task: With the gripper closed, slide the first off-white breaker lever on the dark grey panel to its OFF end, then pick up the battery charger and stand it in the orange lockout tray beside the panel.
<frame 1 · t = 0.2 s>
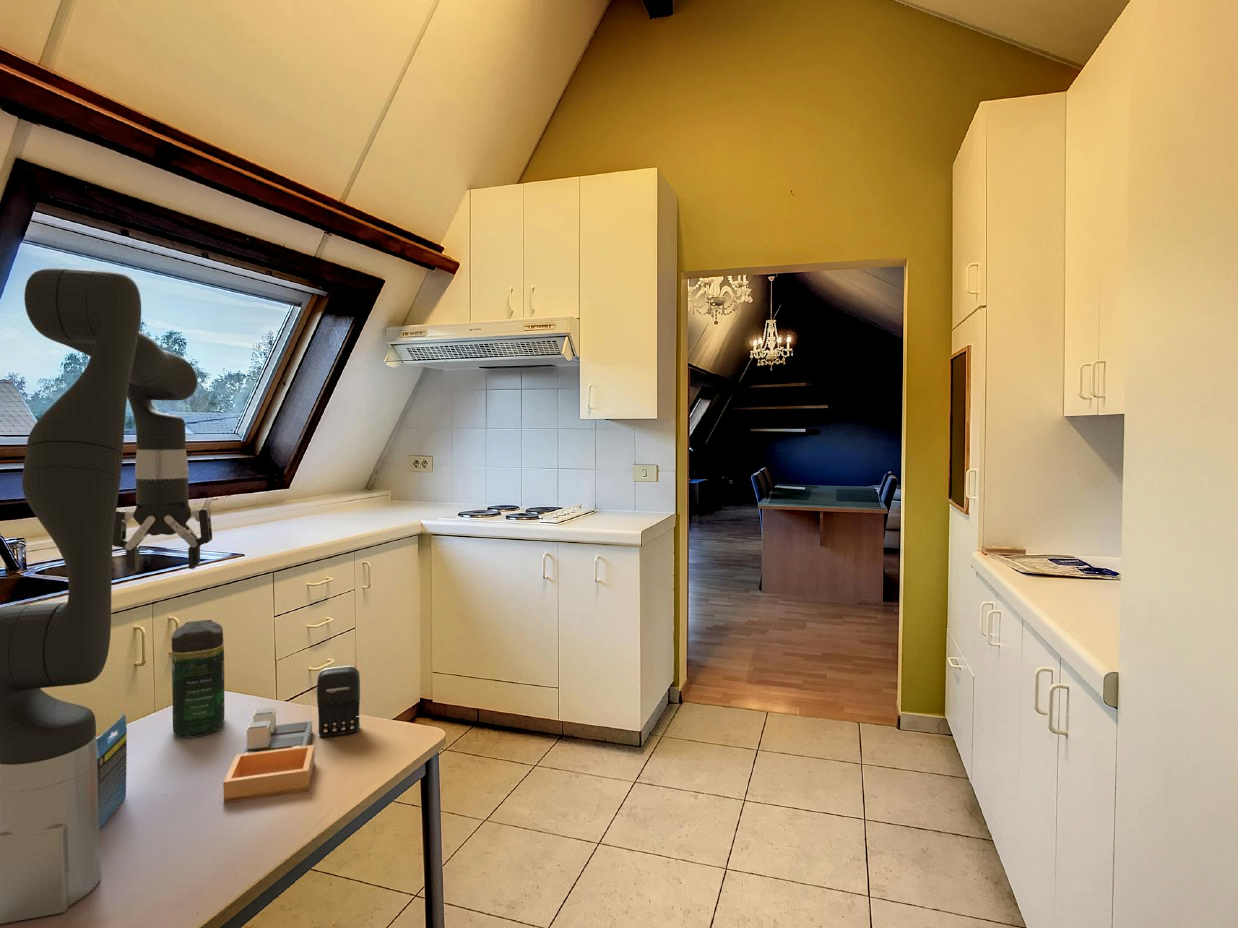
hand: (164, 569, 119), 28 cm above the table, tool pointing down, fingers open, 8 cm apart
label tape box: (99, 816, 94), on the table
breaker 2: (264, 720, 116), point 4 cm above the table, slide at 0.0 cm
coffee jar: (199, 728, 122), on the table
battery charger: (339, 734, 120), on the table
breaker 1: (258, 734, 110), point 4 cm above the table, slide at 0.0 cm
lockout tray: (271, 781, 103), on the table
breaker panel: (278, 750, 113), on the table
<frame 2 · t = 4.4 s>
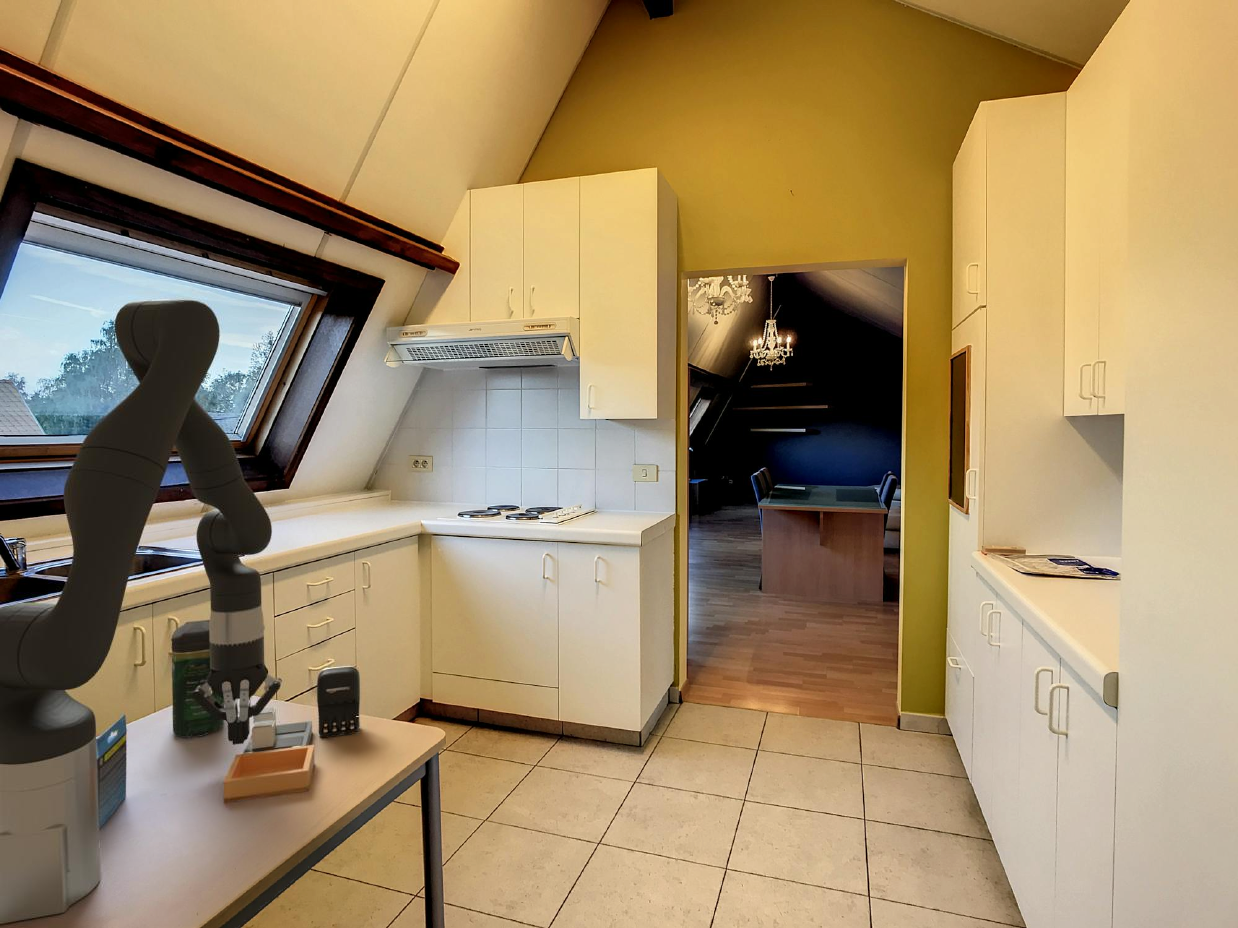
hand: (239, 741, 110), 3 cm above the table, tool pointing down, fingers closed
breaker 1: (263, 733, 111), point 4 cm above the table, slide at 0.7 cm, touching gripper
everything else where it was.
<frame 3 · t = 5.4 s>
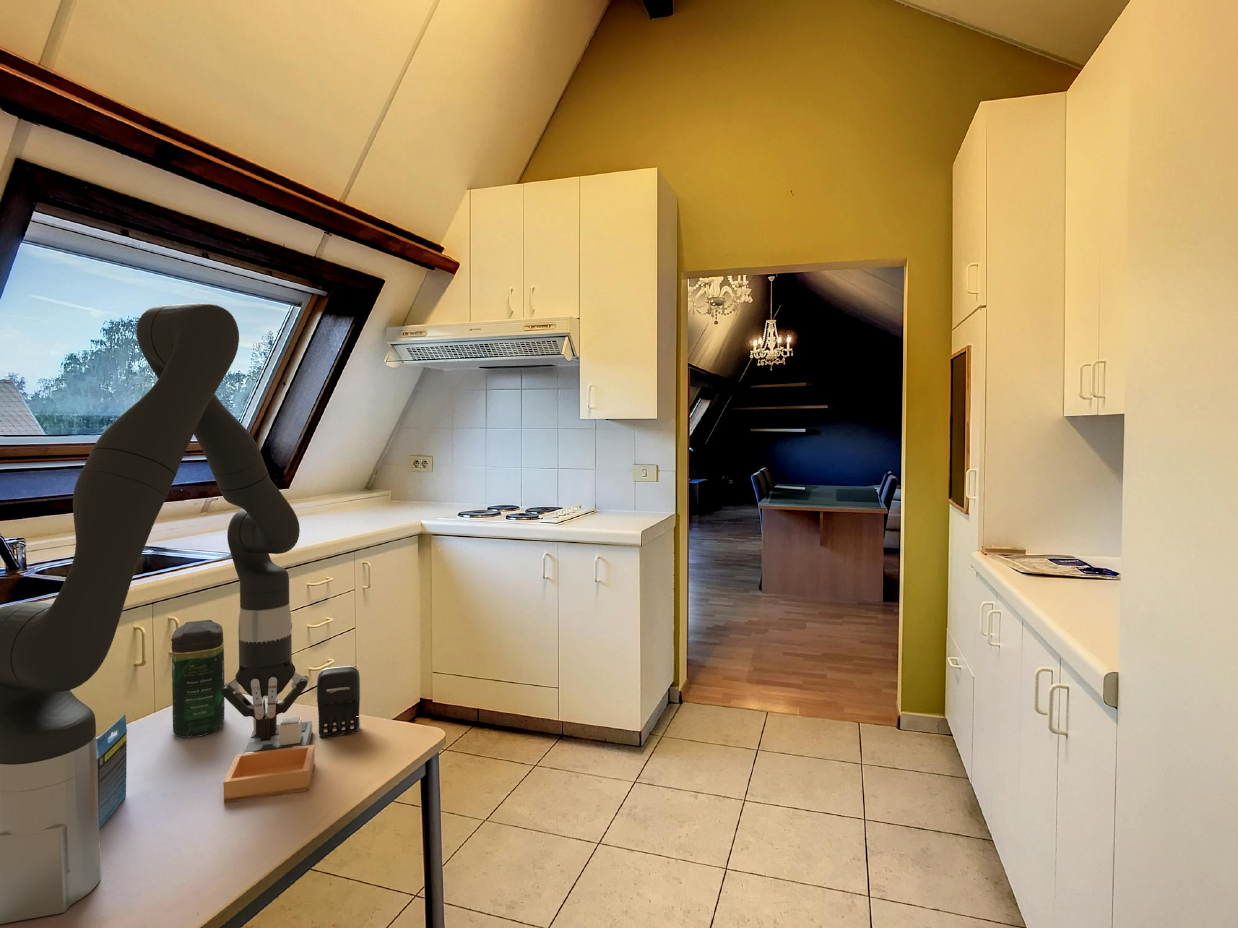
hand: (266, 738, 111), 3 cm above the table, tool pointing down, fingers closed
breaker 1: (290, 730, 112), point 4 cm above the table, slide at 4.6 cm, touching gripper
everything else where it was.
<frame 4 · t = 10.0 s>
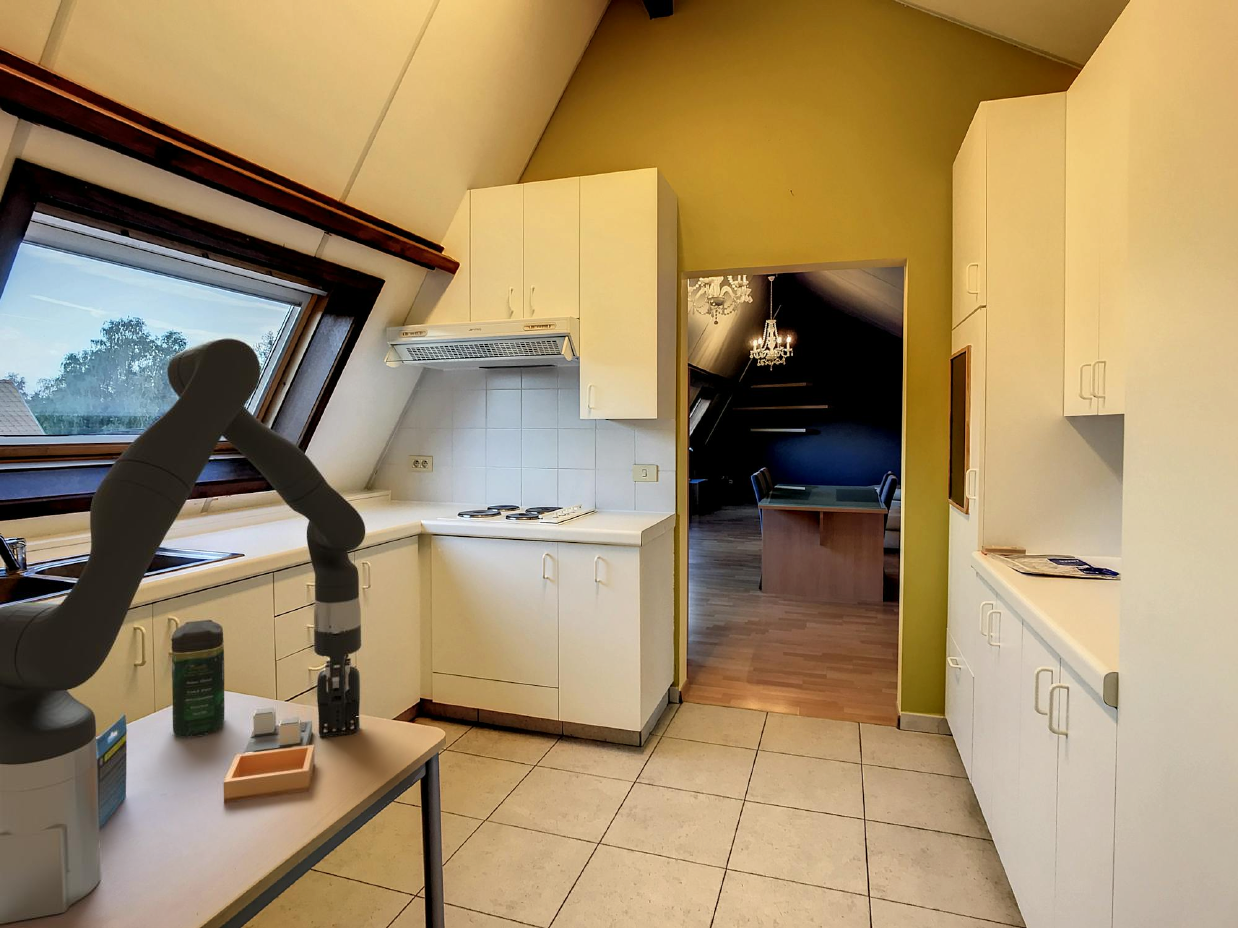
hand: (339, 720, 120), 2 cm above the table, tool pointing down, fingers closed on battery charger, 3 cm apart
battery charger: (339, 734, 120), on the table, touching gripper
breaker 1: (290, 730, 112), point 4 cm above the table, slide at 4.6 cm
everything else where it was.
when the fingers open (4 cm above the table, at t = 15.1 s): battery charger moves 1 cm, resting on lockout tray.
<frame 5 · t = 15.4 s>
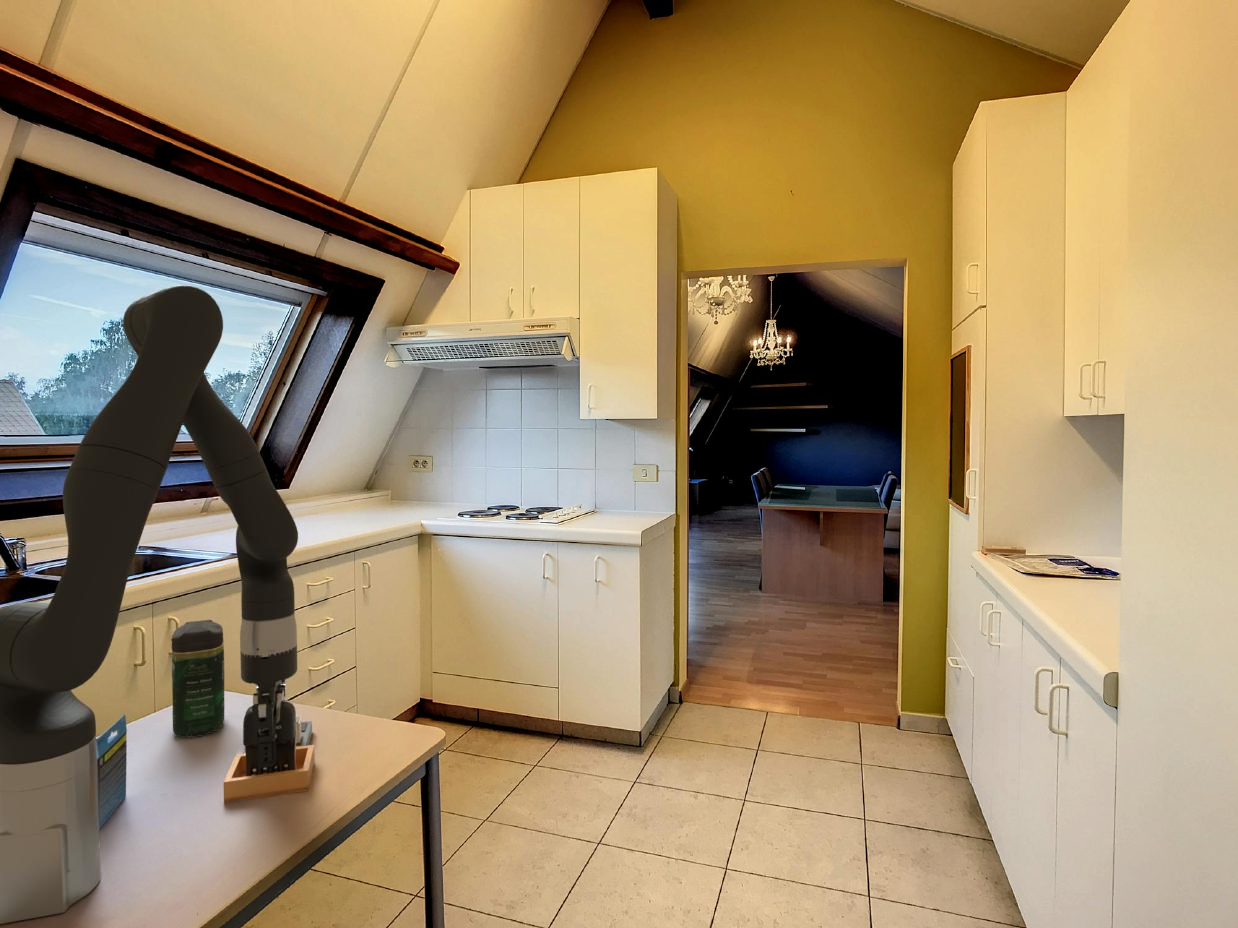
hand: (271, 754, 103), 4 cm above the table, tool pointing down, fingers open, 6 cm apart
battery charger: (270, 781, 103), resting on lockout tray
everything else where it was.
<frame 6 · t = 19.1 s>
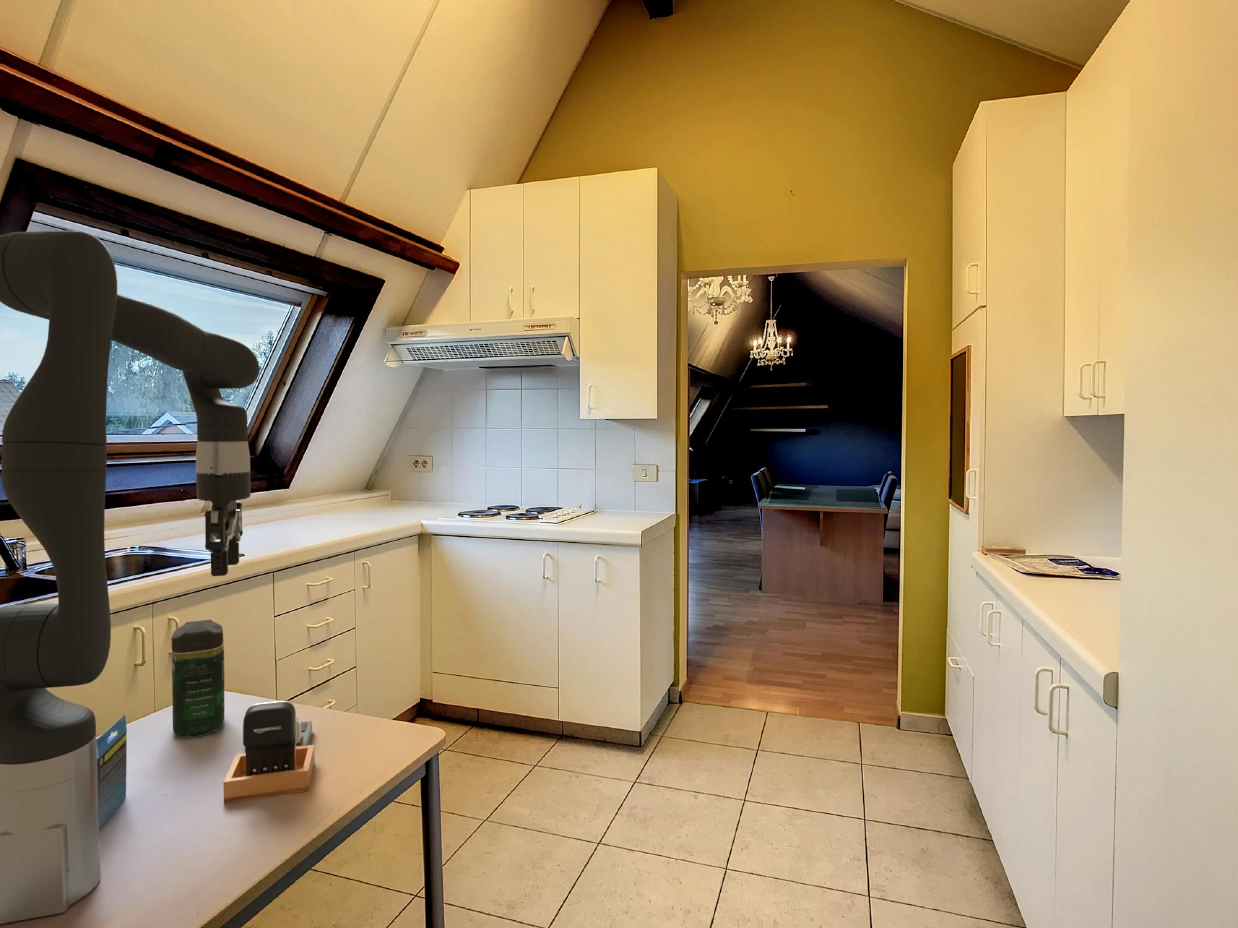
hand: (225, 569, 111), 30 cm above the table, tool pointing down, fingers open, 8 cm apart
nothing on the table moved.
at the end: breaker 1 slide at 4.6 cm; battery charger inside the target area on the lockout tray (0.6 cm from its centre), point 0.4 cm above the lockout tray's base; battery charger tilted 0° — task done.
